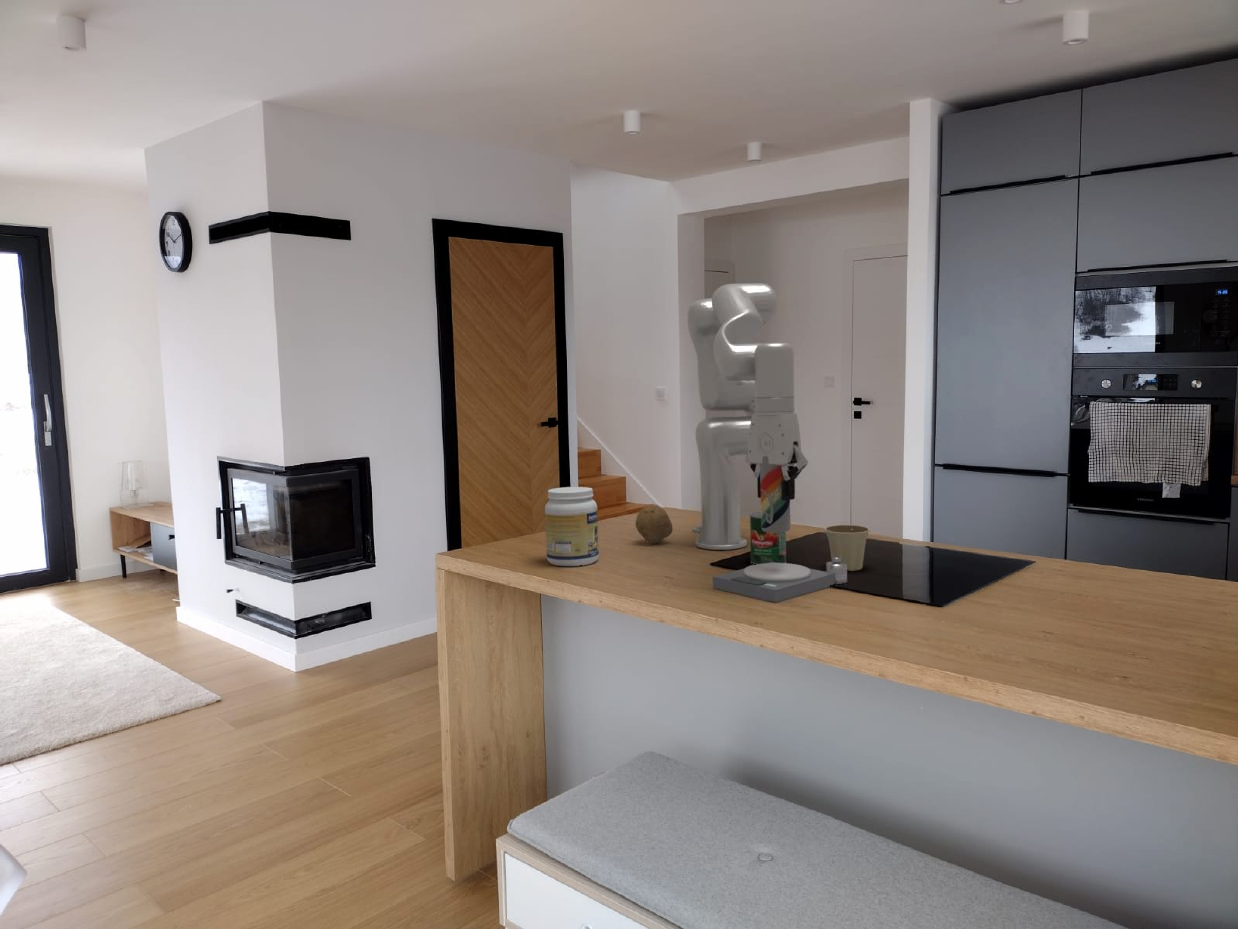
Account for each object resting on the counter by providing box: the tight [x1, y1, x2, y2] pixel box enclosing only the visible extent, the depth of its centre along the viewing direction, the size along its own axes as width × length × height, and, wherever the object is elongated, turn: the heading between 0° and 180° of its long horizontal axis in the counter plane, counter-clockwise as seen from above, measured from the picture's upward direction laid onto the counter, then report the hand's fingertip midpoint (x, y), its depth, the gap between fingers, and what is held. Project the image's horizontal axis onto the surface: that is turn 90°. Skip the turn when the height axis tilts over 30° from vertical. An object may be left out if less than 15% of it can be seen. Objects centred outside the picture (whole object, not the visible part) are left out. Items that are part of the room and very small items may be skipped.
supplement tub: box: [544, 486, 600, 567], centre depth 204 cm, size 12×12×17 cm
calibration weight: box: [825, 557, 848, 584], centre depth 177 cm, size 4×4×5 cm
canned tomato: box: [749, 511, 787, 565], centre depth 196 cm, size 8×8×11 cm
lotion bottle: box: [760, 456, 791, 532], centre depth 174 cm, size 6×6×20 cm
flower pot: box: [823, 524, 871, 572], centre depth 189 cm, size 9×9×9 cm
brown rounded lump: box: [635, 503, 673, 545], centre depth 223 cm, size 9×9×10 cm
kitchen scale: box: [712, 562, 835, 604], centre depth 175 cm, size 16×18×3 cm
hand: (776, 497), depth 174 cm, fingers closed on lotion bottle, 5 cm apart
